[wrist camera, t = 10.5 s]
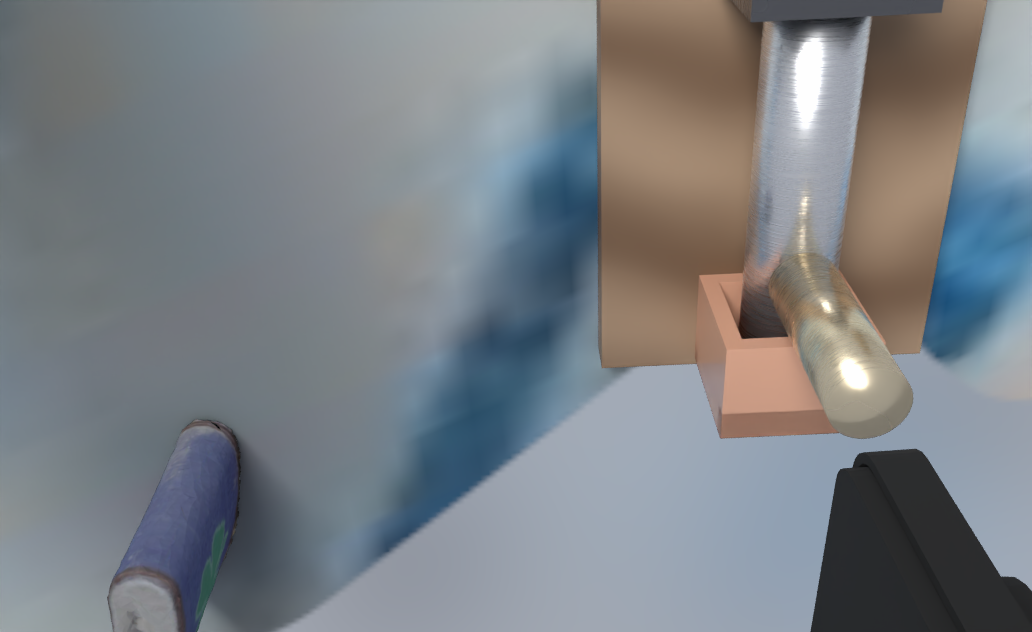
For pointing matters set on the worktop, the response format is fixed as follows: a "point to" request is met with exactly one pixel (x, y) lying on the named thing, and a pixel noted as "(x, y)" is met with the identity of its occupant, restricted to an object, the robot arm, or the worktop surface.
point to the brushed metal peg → (814, 222)
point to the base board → (728, 161)
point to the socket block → (752, 370)
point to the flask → (181, 536)
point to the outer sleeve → (832, 8)
